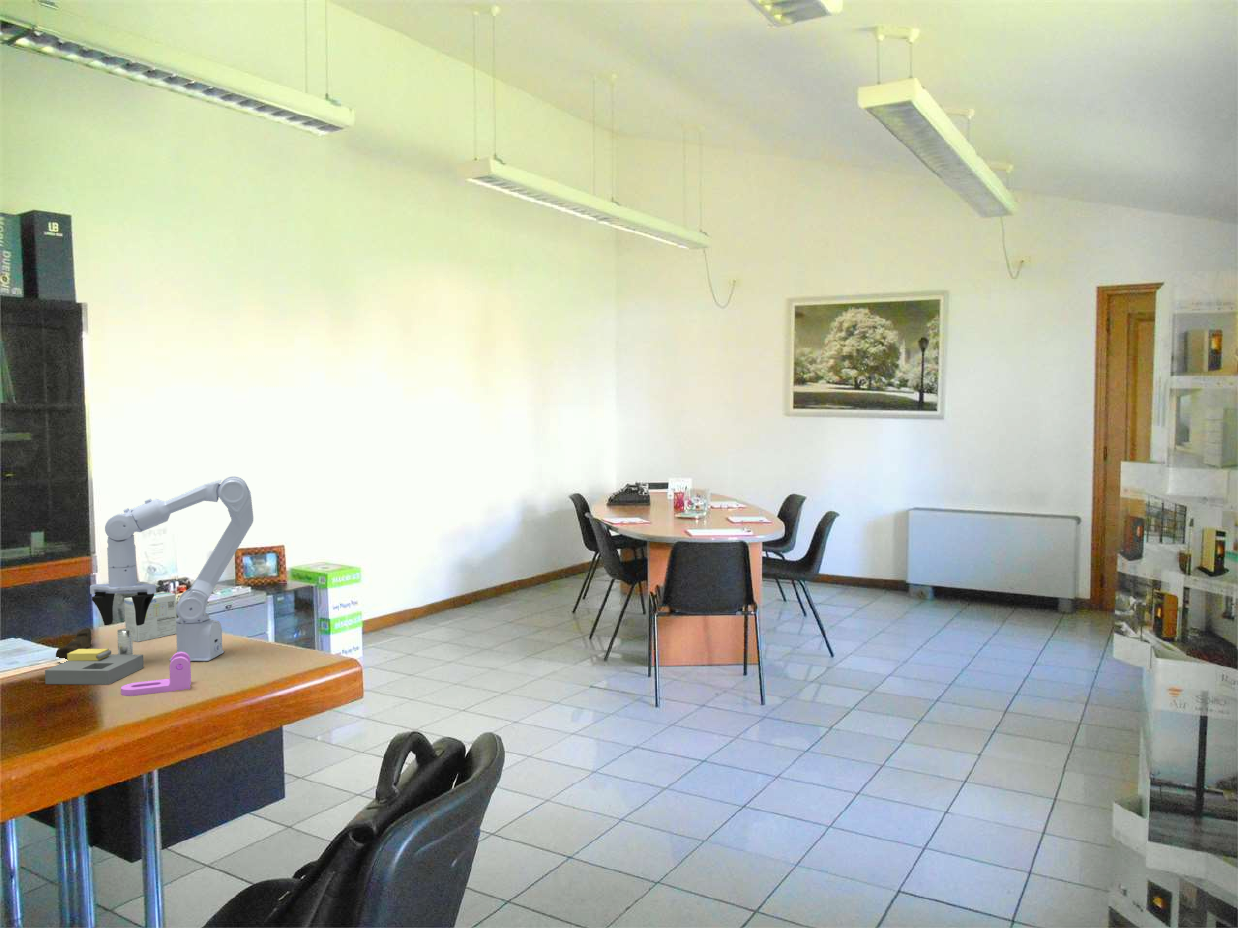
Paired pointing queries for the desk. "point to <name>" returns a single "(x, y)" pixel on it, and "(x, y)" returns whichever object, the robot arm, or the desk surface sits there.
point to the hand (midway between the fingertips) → (124, 624)
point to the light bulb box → (153, 617)
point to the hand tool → (76, 643)
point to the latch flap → (88, 654)
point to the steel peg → (125, 641)
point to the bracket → (177, 681)
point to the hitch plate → (94, 670)
